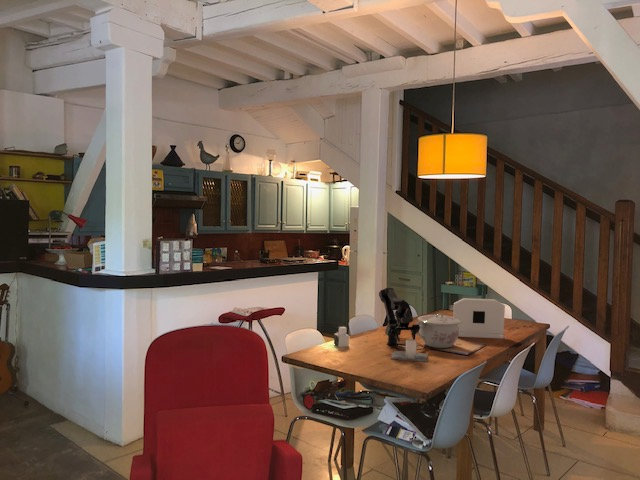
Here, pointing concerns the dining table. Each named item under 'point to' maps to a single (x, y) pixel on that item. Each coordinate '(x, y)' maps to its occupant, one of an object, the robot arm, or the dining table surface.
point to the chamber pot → (438, 330)
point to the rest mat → (401, 356)
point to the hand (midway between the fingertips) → (406, 341)
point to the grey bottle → (341, 337)
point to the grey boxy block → (480, 318)
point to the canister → (410, 349)
